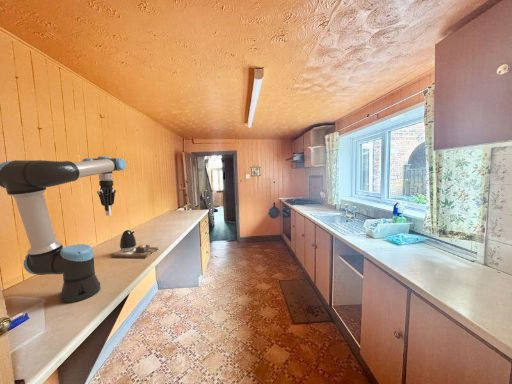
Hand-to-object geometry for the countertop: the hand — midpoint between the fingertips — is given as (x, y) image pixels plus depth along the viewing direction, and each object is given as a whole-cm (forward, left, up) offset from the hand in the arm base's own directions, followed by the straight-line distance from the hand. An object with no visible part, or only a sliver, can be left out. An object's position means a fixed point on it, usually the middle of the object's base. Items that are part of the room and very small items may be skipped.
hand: (108, 215), depth 139 cm
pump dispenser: (+10, -5, -29) cm, 31 cm away
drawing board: (+10, -10, -31) cm, 34 cm away
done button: (+10, -16, -27) cm, 33 cm away
